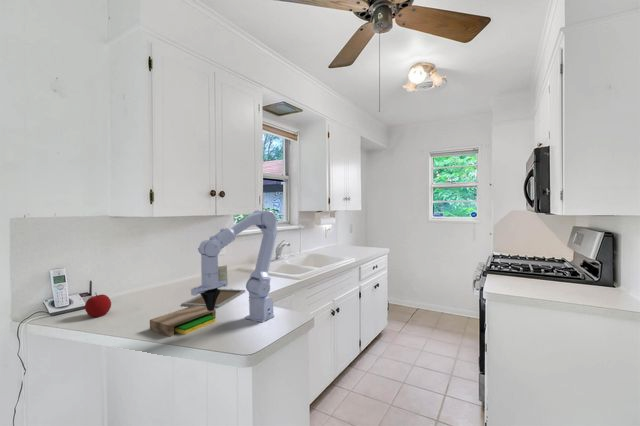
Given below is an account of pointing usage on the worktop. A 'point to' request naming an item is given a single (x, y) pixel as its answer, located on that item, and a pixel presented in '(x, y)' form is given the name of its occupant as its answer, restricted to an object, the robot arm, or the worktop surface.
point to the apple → (98, 305)
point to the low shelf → (178, 319)
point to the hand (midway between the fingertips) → (210, 310)
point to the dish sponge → (194, 324)
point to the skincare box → (222, 273)
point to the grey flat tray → (222, 298)
